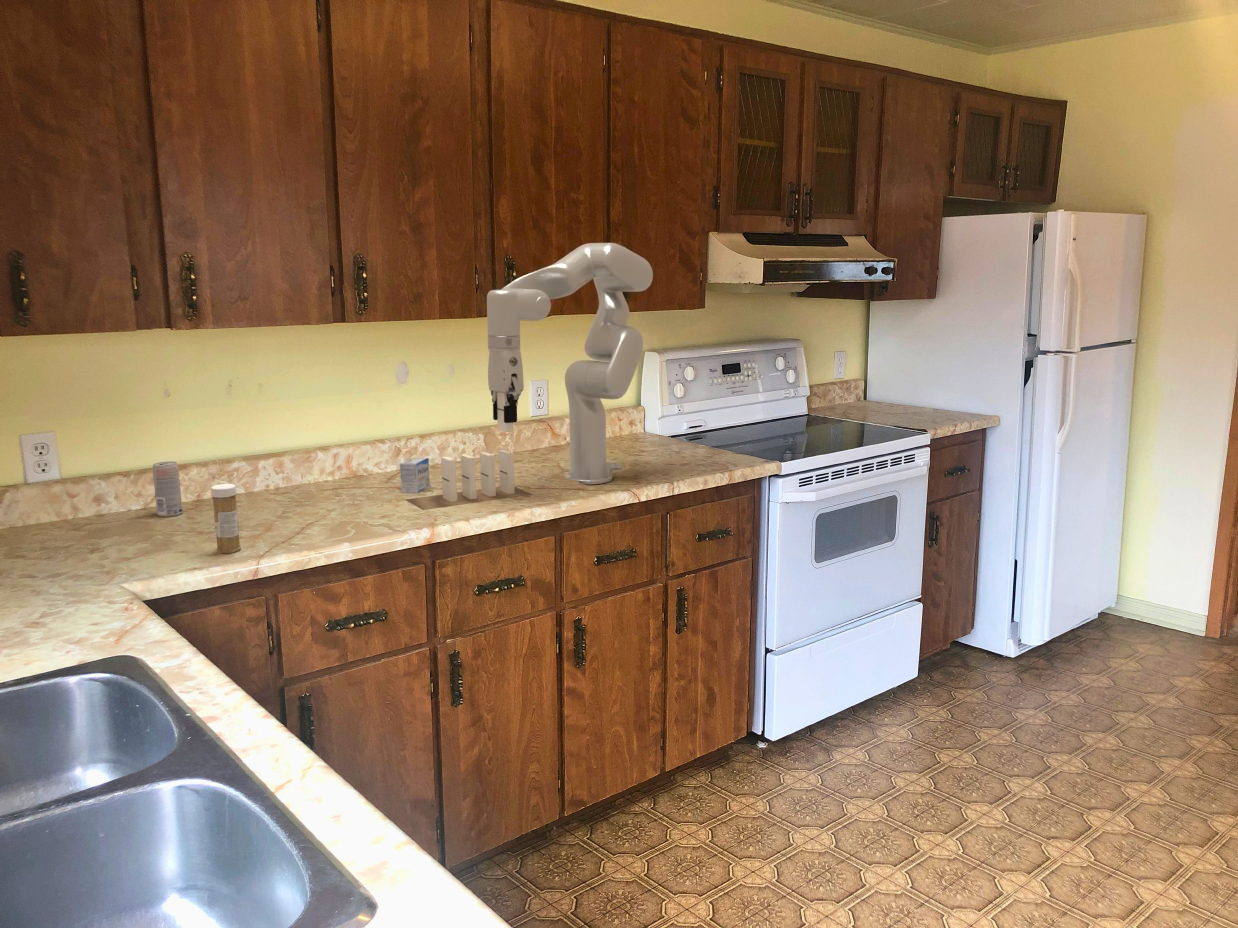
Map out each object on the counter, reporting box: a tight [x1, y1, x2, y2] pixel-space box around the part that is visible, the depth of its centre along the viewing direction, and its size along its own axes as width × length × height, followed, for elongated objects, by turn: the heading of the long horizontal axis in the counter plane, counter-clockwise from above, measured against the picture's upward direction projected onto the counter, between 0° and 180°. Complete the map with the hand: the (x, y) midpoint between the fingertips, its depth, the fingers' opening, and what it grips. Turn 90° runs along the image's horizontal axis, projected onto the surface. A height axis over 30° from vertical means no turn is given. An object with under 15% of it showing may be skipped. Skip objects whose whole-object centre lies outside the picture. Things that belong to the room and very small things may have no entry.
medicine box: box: [399, 457, 431, 494], centre depth 240 cm, size 8×4×9 cm, turn 168°
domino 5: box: [498, 449, 515, 494], centre depth 237 cm, size 2×5×10 cm, turn 32°
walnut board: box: [404, 485, 533, 511], centre depth 233 cm, size 28×12×1 cm, turn 122°
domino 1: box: [440, 456, 458, 502], centre depth 229 cm, size 2×5×10 cm, turn 32°
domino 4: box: [496, 390, 514, 433], centre depth 227 cm, size 2×5×10 cm, turn 33°
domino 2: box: [460, 453, 477, 499], centre depth 232 cm, size 2×5×10 cm, turn 32°
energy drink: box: [151, 461, 183, 518], centre depth 222 cm, size 5×5×12 cm
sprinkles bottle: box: [210, 483, 242, 554], centre depth 192 cm, size 5×5×14 cm
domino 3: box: [479, 451, 497, 497], centre depth 234 cm, size 2×5×10 cm, turn 32°
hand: (505, 420), depth 228 cm, fingers closed on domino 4, 4 cm apart
